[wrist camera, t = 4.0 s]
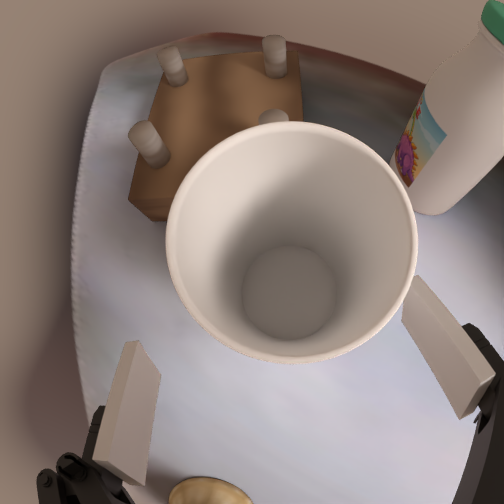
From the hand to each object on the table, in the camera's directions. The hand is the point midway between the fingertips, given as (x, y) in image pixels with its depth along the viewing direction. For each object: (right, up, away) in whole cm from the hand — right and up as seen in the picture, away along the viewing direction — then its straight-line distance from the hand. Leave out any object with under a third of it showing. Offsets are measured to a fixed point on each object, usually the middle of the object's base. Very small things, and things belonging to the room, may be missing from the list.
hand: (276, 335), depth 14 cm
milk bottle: (+16, +11, +12) cm, 22 cm away
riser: (-3, +15, +15) cm, 22 cm away
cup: (+2, +1, +11) cm, 11 cm away
